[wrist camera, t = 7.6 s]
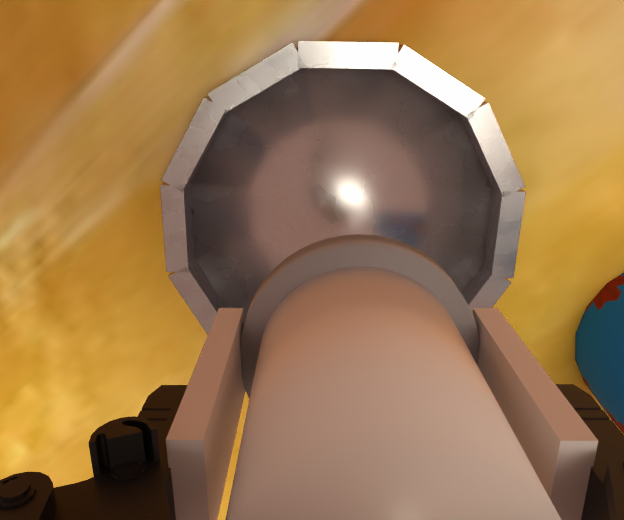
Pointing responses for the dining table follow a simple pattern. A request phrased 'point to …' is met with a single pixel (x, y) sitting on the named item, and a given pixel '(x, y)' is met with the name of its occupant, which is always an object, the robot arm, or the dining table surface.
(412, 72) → the round tray
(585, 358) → the thermos
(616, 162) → the dining table surface
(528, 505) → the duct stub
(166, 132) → the dining table surface
